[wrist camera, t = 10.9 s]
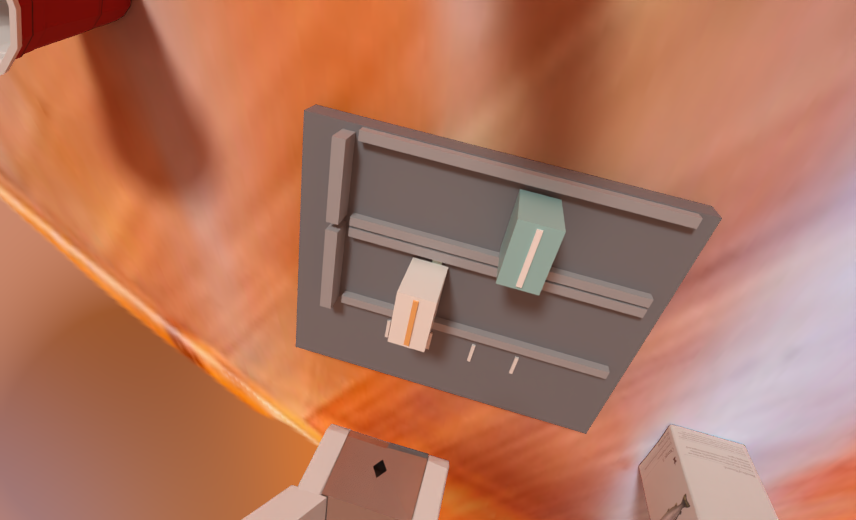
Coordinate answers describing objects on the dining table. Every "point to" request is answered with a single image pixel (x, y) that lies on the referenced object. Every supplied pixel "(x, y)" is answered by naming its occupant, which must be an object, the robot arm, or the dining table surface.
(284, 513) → the robot arm
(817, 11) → the dining table surface
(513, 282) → the fader
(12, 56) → the plastic cup
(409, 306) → the fader
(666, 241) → the console
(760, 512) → the supplement box
